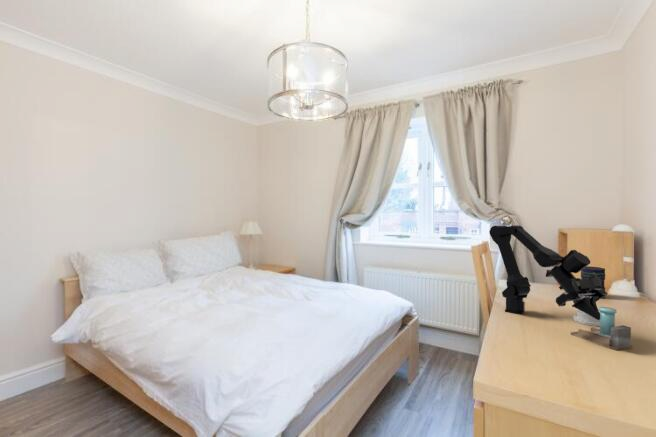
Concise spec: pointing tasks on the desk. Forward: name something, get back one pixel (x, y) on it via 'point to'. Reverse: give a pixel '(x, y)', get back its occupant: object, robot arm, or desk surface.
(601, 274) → the storage jar
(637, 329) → the desk surface
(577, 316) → the mechanical component
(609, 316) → the knob
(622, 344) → the mount
